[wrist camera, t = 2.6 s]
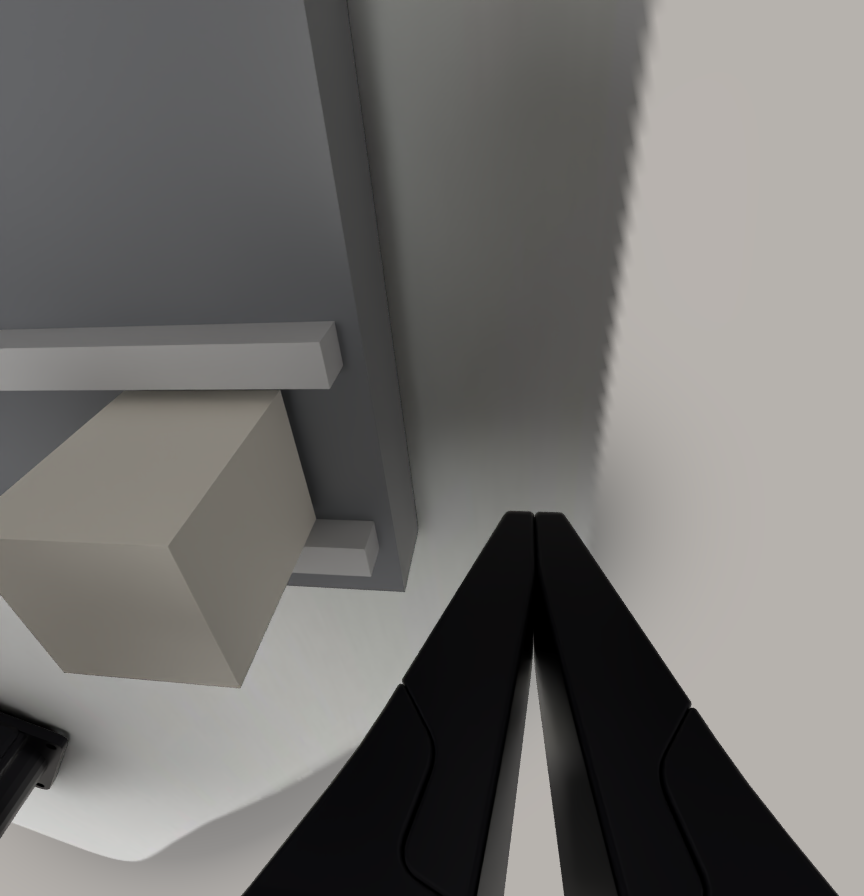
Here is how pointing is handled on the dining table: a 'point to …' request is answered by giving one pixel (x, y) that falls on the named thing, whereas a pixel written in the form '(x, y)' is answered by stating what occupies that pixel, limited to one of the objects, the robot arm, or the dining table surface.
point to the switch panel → (202, 244)
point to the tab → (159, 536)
